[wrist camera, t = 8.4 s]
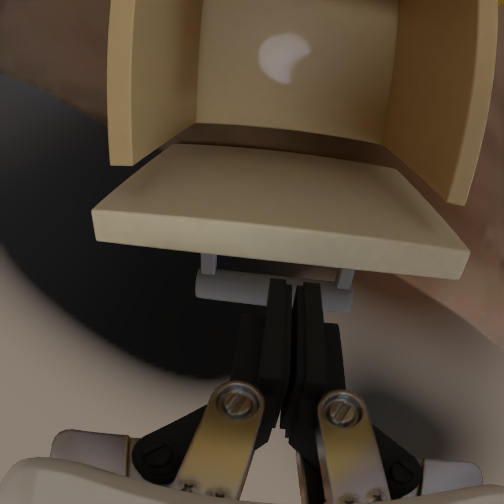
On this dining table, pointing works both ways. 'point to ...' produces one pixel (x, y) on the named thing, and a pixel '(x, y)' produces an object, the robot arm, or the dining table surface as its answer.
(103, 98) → the dining table surface
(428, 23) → the drawer
